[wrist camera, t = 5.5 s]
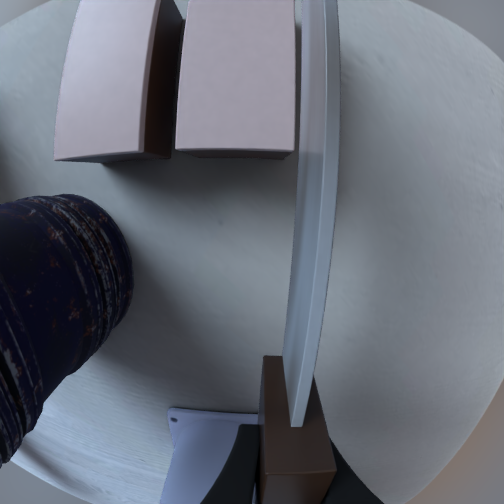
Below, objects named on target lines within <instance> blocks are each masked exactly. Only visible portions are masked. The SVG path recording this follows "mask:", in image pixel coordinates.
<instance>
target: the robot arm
mask: <svg viewBox="0 0 504 504" xmlns="http://www.w3.org/2000/svg"><path fill="white" fill-rule="evenodd" d="M167 416H168V421H169V426H170V431H171V435H172V440H173V444H174V449H175V450H174V453H173V457H172V460H171V464H170V467H169V471H168V474H167V478H166V481H165V485H164V488H163V492H162V496H161V499H160V503H159V504H253V493H254V486H255V479H256V470H257V462H258V453H259V444H260V428H259V424H257V422H258V414H237V413H221V412H209V411H198V410H189V409H181V408H169V409H168V411H167ZM175 418H176V419H175ZM329 438H330V437H329ZM330 442H331V446H332V451H333V455H334V459H335V463H336V468H337V472H336V474H335V476H334V478H333V480H332V482H331V484H330V486H329V488H328V490H327V492H326V494H325V496H324V498H323V500H322V502H321V504H384V503H383V502H382V501H381V500H380V499H379V498H378V497H376V496H375V495H374V494H373V493H372V492H371V491H370V490H369V489H368V488H367V487H366V485H365V484H364V483H363V482H362V481H361V480H360V479H359V478H358V476H357V475H356V474H355V473H354V471H353V470H352V469H351V468H350V466H349V465H348V464H347V462H346V461H345V460H344V458H343V457H342V455H341V454H340V453H339V451H338V450H337V448H336V446H335V445H334V443H333V442H332V440H331V439H330Z"/></svg>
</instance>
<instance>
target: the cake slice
mask: <svg viewBox="0 0 504 504" xmlns="http://www.w3.org/2000/svg"><path fill="white" fill-rule="evenodd" d="M295 105H296V42H295V0H189V3H188V9H187V17H186V24H185V32H184V40H183V49H182V58H181V68H180V79H179V91H178V105H177V122H176V143H175V149H176V150H179V151H183V152H185V153H188V154H191V155H193V156H196V157H199V158H259V159H285V158H286V157H287V156H288V155H289V154H290V153H292V152H293V151H294V150H295Z"/></svg>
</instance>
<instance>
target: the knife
mask: <svg viewBox="0 0 504 504" xmlns="http://www.w3.org/2000/svg"><path fill="white" fill-rule="evenodd" d="M340 123H341V65H340V37H339V19H338V5H337V0H302V72H301V113H300V139H299V161H298V179H297V196H296V211H295V226H294V239H293V252H292V264H291V275H290V286H289V297H288V307H287V317H286V326H285V336H284V345H283V353H282V356H267V355H265V356H264V357H263V365H262V376H261V388H260V400H259V411H258V422H257V424H259V428H260V444H259V453H258V462H257V470H256V479H255V486H254V493H253V504H321V502H322V500H323V498H324V496H325V494H326V492H327V490H328V488H329V486H330V484H331V482H332V480H333V478H334V476H335V474H336V472H337V468H336V463H335V459H334V455H333V451H332V446H331V442H330V438H329V434H328V430H327V426H326V422H325V418H324V414H323V410H322V406H321V402H320V398H319V394H318V390H317V386H316V382H315V378H314V369H315V364H316V359H317V353H318V347H319V341H320V335H321V329H322V323H323V317H324V310H325V303H326V296H327V289H328V281H329V273H330V265H331V256H332V247H333V237H334V227H335V216H336V203H337V189H338V174H339V154H340Z"/></svg>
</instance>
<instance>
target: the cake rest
mask: <svg viewBox="0 0 504 504" xmlns="http://www.w3.org/2000/svg"><path fill="white" fill-rule="evenodd" d="M181 25H182V16H181V14H180V12H179V10H178V8H177V6H176V4H175V2H174V0H81V1H80V4H79V7H78V11H77V14H76V17H75V21H74V25H73V28H72V32H71V36H70V40H69V44H68V49H67V53H66V58H65V63H64V68H63V74H62V80H61V86H60V93H59V100H58V108H57V117H56V128H55V142H54V161H71V162H90V163H107V162H119V161H133V160H150V159H170V158H171V139H172V119H173V103H174V90H175V78H176V68H177V58H178V49H179V40H180V32H181Z"/></svg>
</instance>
